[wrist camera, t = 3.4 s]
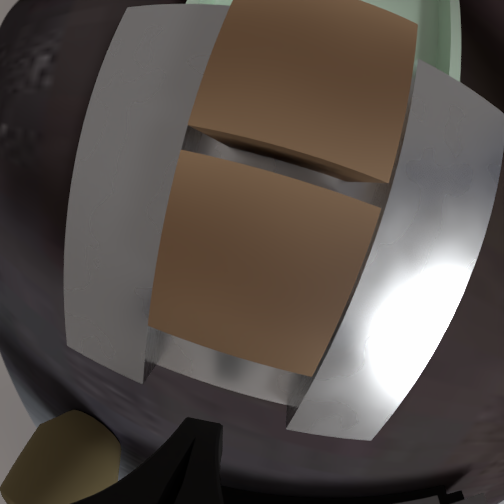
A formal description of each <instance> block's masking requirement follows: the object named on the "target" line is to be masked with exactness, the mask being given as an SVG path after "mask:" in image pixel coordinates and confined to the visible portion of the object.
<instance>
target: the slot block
mask: <svg viewBox="0 0 504 504" xmlns="http://www.w3.org/2000/svg"><path fill="white" fill-rule="evenodd" d="M229 8H230V6H228V5H213V4H163V5H148V6H137V7H128V8H127V10H126V12H125V14H124V16H123V18H122V20H121V22H120V24H119V26H118V28H117V30H116V32H115V35H114V37H113V39H112V41H111V44H110V46H109V49H108V51H107V53H106V56H105V58H104V61H103V64H102V66H101V69H100V72H99V75H98V77H97V80H96V83H95V86H94V89H93V92H92V96H91V99H90V102H89V105H88V109H87V112H86V116H85V120H84V124H83V128H82V132H81V136H80V140H79V144H78V149H77V154H76V159H75V164H74V170H73V175H72V181H71V188H70V195H69V203H68V212H67V222H66V234H65V250H64V309H65V326H66V338H67V346H69V347H71V348H72V349H74V350H76V351H77V352H79V353H81V354H83V355H85V356H86V357H88V358H90V359H92V360H94V361H96V362H98V363H100V364H101V365H103V366H105V367H107V368H109V369H111V370H113V371H115V372H117V373H120V374H122V375H124V376H126V377H128V378H130V379H132V380H135V381H137V382H139V383H141V384H143V383H144V382H145V380H146V379H147V377H148V376H149V375H150V373H151V372H152V370H153V369H154V367H155V366H156V364H157V365H160V366H162V367H165V368H167V369H170V370H173V371H175V372H178V373H181V374H183V375H186V376H189V377H192V378H195V379H197V380H200V381H203V382H206V383H209V384H212V385H215V386H219V387H222V388H225V389H228V390H232V391H235V392H239V393H242V394H246V395H249V396H253V397H257V398H260V399H264V400H268V401H272V402H277V403H281V404H285V405H287V416H286V429H288V430H293V431H299V432H304V433H310V434H316V435H323V436H330V437H338V438H347V439H358V440H370V441H371V440H372V439H373V437H374V436H375V435H376V434H377V433H378V432H379V430H380V429H381V428H382V427H383V425H384V424H385V423H386V422H387V420H388V419H389V418H390V417H391V415H392V414H393V413H394V411H395V410H396V409H397V407H398V406H399V405H400V403H401V402H402V400H403V399H404V398H405V396H406V395H407V393H408V392H409V390H410V389H411V387H412V386H413V384H414V383H415V381H416V380H417V378H418V377H419V375H420V374H421V372H422V371H423V369H424V367H425V366H426V364H427V362H428V361H429V359H430V357H431V356H432V354H433V352H434V351H435V349H436V347H437V345H438V343H439V342H440V340H441V338H442V336H443V334H444V332H445V330H446V329H447V327H448V325H449V323H450V321H451V319H452V317H453V315H454V312H455V310H456V308H457V306H458V304H459V302H460V299H461V297H462V295H463V293H464V290H465V288H466V286H467V283H468V281H469V278H470V276H471V273H472V271H473V268H474V265H475V263H476V260H477V257H478V254H479V251H480V248H481V245H482V242H483V239H484V236H485V233H486V229H487V226H488V222H489V219H490V215H491V211H492V207H493V203H494V199H495V194H496V190H497V185H498V180H499V175H500V169H501V163H502V156H503V149H504V113H503V112H501V111H500V110H499V109H497V108H496V107H495V106H494V105H492V104H491V103H490V102H488V101H487V100H485V99H484V98H483V97H481V96H480V95H478V94H477V93H476V92H474V91H473V90H471V89H470V88H468V87H467V86H465V85H464V84H462V83H460V82H459V81H457V80H456V79H454V78H452V77H451V76H449V75H447V74H446V73H444V72H442V71H440V70H439V69H437V68H435V67H433V66H431V65H430V64H428V63H426V62H424V61H422V60H420V59H417V60H416V61H415V62H414V66H413V73H412V80H411V86H410V92H409V98H408V103H407V108H406V113H405V118H404V123H403V128H402V132H401V137H400V141H399V145H398V150H397V154H396V158H395V161H394V165H393V169H392V173H391V176H390V180H389V183H371V182H346V181H343V180H340V179H337V178H334V177H331V176H328V175H325V174H322V173H319V172H316V171H313V170H310V169H307V168H304V167H300V166H297V165H294V164H290V163H287V162H283V161H280V160H276V159H273V158H269V157H266V156H262V155H258V154H254V153H251V152H247V151H243V150H239V149H235V148H230V147H228V146H226V145H224V144H222V143H220V142H219V141H217V140H215V139H213V138H211V137H209V136H208V135H206V134H204V133H202V132H200V131H198V130H196V129H194V128H192V127H191V126H189V125H188V121H189V118H190V115H191V111H192V108H193V105H194V102H195V98H196V95H197V92H198V89H199V86H200V83H201V80H202V77H203V74H204V72H205V69H206V66H207V63H208V60H209V58H210V55H211V52H212V49H213V47H214V44H215V42H216V39H217V37H218V34H219V32H220V29H221V27H222V24H223V22H224V19H225V17H226V15H227V12H228V10H229ZM180 150H186V151H190V152H195V153H199V154H204V155H208V156H212V157H216V158H221V159H225V160H229V161H233V162H237V163H241V164H244V165H248V166H252V167H256V168H259V169H263V170H267V171H270V172H274V173H277V174H281V175H284V176H287V177H291V178H294V179H297V180H301V181H304V182H307V183H310V184H313V185H316V186H320V187H323V188H326V189H329V190H332V191H335V192H338V193H340V194H343V195H346V196H349V197H352V198H355V199H358V200H360V201H363V202H366V203H369V204H371V205H374V206H377V207H379V208H381V211H380V214H379V217H378V220H377V223H376V226H375V229H374V232H373V235H372V238H371V241H370V244H369V247H368V250H367V252H366V255H365V258H364V260H363V263H362V266H361V268H360V271H359V274H358V276H357V279H356V281H355V284H354V286H353V289H352V291H351V294H350V296H349V299H348V301H347V303H346V306H345V308H344V310H343V313H342V315H341V317H340V319H339V322H338V324H337V326H336V328H335V331H334V333H333V335H332V337H331V339H330V341H329V343H328V346H327V348H326V350H325V352H324V354H323V356H322V358H321V360H320V362H319V364H318V366H317V368H316V370H315V372H314V374H313V376H312V377H310V376H306V375H302V374H297V373H293V372H289V371H285V370H281V369H277V368H274V367H270V366H266V365H262V364H259V363H255V362H252V361H248V360H245V359H242V358H238V357H235V356H232V355H229V354H225V353H222V352H219V351H216V350H213V349H210V348H207V347H204V346H201V345H198V344H195V343H192V342H190V341H187V340H184V339H181V338H178V337H176V336H173V335H170V334H168V333H165V332H163V331H160V330H157V329H155V328H152V327H150V326H148V318H149V310H150V302H151V295H152V288H153V281H154V274H155V268H156V262H157V256H158V250H159V245H160V239H161V234H162V229H163V224H164V219H165V214H166V209H167V204H168V200H169V195H170V191H171V187H172V182H173V178H174V174H175V170H176V166H177V162H178V158H179V154H180Z"/></svg>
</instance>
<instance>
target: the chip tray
mask: <svg viewBox="0 0 504 504" xmlns="http://www.w3.org/2000/svg"><path fill="white" fill-rule="evenodd" d="M232 1H233V0H187V2H186V4H213V5H228V6H230V5H231V3H232ZM361 1H364V2H366V3H369V4H372V5H375V6H377V7H380V8H382V9H385V10H387V11H390V12H392V13H394V14H397V15H399V16H401V17H404V18H406V19H408V20H410V21H412V22H414V23H416V24H418V29H417V40H416V50H415V58H414V62H415V61H416V60H417V59H420V60H422V61H424V62H426V63H428V64H430V65H431V66H433V67H435V68H437V69H439V70H440V71H442V72H444V73H446V74H447V75H449V76H451V77H452V78H454V79H456V80H457V81H459V82H460V70H461V18H460V4H459V0H361Z"/></svg>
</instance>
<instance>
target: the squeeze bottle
mask: <svg viewBox="0 0 504 504" xmlns="http://www.w3.org/2000/svg"><path fill="white" fill-rule="evenodd" d="M120 456H121V446H120V443H119V442H118V440H117V439H116V437H115V436H114V435H113V434H112V433H111V432H110V431H109V430H108V429H107V428H106V427H105V426H104V425H103V424H101V423H100V422H99V421H97V420H96V419H94V418H93V417H91V416H89V415H87V414H86V413H84V412H81V411H77V410H71V411H68V412H66V413H64V414H62V415H60V416H58V417H55V418H53V419H51V420H49V421H47V422H44V423H42V424H40V425H39V427H38V428H37V429H36V431H35V432H34V434H33V435H32V437H31V439H30V440H29V441H28V443H27V445H26V446H25V448H24V449H23V451H22V452H21V454H20V455H19V457H18V458H17V460H16V462H15V463H14V465H13V466H12V468H11V470H10V471H9V473H8V475H7V476H6V478H5V480H4V481H3V483H2V485H1V487H0V491H1V495H2V497H3V498H4V500H5V501H6V503H7V504H71V503H74V502H76V501H79V500H81V499H84V498H86V497H89V496H91V495H94V494H96V493H98V492H100V491H102V490H104V489H106V488H107V487H109V486H111V485H113V484H114V483H116V482H118V473H119V464H120Z"/></svg>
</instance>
